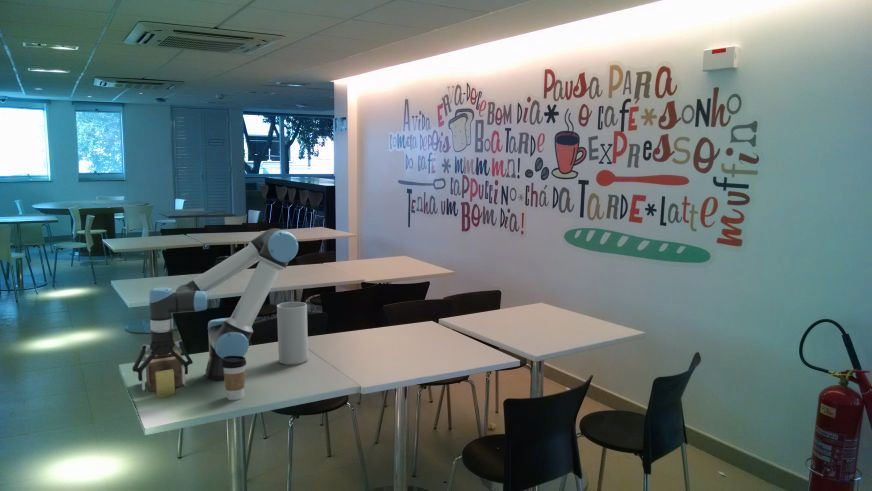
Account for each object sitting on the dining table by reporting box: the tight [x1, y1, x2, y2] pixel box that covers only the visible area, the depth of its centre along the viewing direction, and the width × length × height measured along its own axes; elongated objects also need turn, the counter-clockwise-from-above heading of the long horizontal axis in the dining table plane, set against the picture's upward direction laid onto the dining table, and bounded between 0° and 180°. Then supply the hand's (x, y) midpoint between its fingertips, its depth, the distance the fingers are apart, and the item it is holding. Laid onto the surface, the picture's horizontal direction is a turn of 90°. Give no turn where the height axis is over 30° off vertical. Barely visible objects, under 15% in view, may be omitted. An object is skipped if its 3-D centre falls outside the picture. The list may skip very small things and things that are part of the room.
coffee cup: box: [222, 356, 247, 401], centre depth 220 cm, size 8×8×15 cm
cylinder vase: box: [276, 301, 309, 366], centre depth 262 cm, size 12×12×25 cm
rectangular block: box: [155, 369, 176, 399], centre depth 223 cm, size 6×3×9 cm, turn 121°
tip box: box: [144, 349, 185, 392], centre depth 235 cm, size 12×12×11 cm
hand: (163, 386), depth 223 cm, fingers open, 13 cm apart
